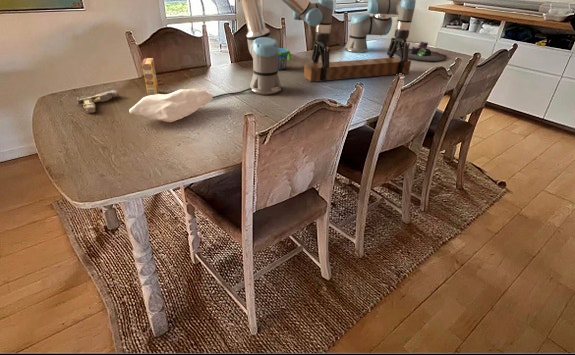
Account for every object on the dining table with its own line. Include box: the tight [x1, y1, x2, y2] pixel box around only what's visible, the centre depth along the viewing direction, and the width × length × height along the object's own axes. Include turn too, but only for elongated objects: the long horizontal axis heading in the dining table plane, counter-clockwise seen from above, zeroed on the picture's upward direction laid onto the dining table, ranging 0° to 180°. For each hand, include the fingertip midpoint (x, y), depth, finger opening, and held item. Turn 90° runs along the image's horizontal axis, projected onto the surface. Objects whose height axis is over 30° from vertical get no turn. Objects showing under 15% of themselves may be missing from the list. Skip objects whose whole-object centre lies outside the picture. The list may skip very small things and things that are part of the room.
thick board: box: [303, 56, 412, 83], centre depth 201 cm, size 62×9×7 cm, turn 112°
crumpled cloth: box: [129, 88, 214, 123], centre depth 147 cm, size 24×35×9 cm
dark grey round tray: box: [394, 41, 447, 62], centre depth 246 cm, size 35×35×9 cm
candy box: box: [141, 57, 160, 96], centre depth 163 cm, size 9×4×15 cm, turn 13°
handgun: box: [76, 89, 120, 114], centre depth 155 cm, size 3×18×15 cm
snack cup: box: [278, 47, 292, 71], centre depth 207 cm, size 16×10×10 cm
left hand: (318, 77), depth 194 cm, fingers closed on thick board, 9 cm apart
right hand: (394, 70), depth 211 cm, fingers closed on thick board, 9 cm apart
